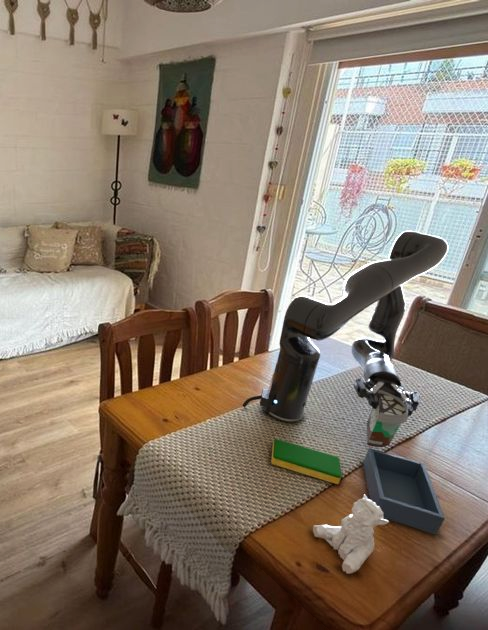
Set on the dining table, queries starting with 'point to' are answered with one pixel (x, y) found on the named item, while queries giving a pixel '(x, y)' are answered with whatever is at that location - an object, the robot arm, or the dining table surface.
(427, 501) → the blue open tray
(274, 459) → the dish sponge
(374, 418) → the food container
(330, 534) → the seated beast figurine
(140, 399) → the dining table surface
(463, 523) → the dining table surface
